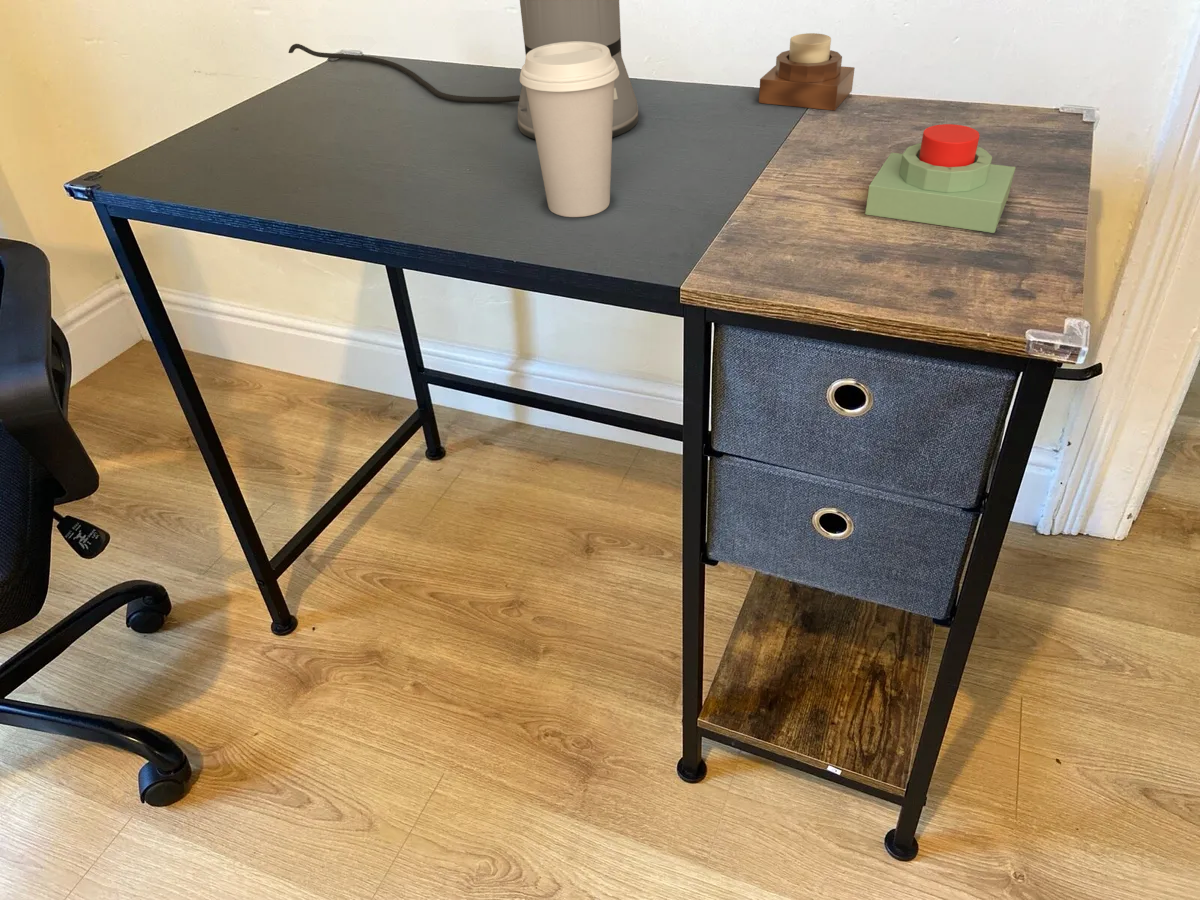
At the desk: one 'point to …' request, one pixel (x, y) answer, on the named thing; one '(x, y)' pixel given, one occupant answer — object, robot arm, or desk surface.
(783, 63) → the wooden square base
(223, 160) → the desk surface
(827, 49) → the far button
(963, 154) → the near button
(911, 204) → the sage console
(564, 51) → the coffee cup
